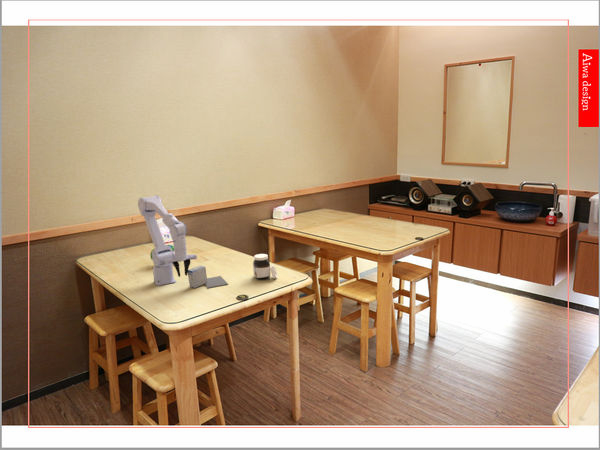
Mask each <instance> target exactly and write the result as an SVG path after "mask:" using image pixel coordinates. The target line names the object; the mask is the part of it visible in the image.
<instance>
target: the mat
mask: <svg viewBox="0 0 600 450" xmlns="http://www.w3.org/2000/svg"><path fill="white" fill-rule="evenodd" d="M204 285H205V286H206V288H207V289H212V288H217V287H222V286H227V285H229V283H228V282H227V281H226V279H224V278H223V277H222V275H218V276H213V277H207V283H205V284H204Z"/></svg>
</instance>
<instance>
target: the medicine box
mask: <svg viewBox="0 0 600 450" xmlns="http://www.w3.org/2000/svg"><path fill="white" fill-rule="evenodd" d="M187 277H188V278H187V279H188V283H189V287H191V288H193V289H197V288H198V287H200V286H203V285H205V283H207V278H208V276H207V269H206V266H204V265H200V264H199V265H197V266H194V267H191V268H190V269H189V268H188V272H187Z"/></svg>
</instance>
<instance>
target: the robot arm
mask: <svg viewBox="0 0 600 450" xmlns="http://www.w3.org/2000/svg"><path fill="white" fill-rule="evenodd" d="M137 207H138V210H139V212H140V215H141V216H143V219H144V221H145V224H146V227H147V229H148V232H149V235H150V238H151V241H152V243H153V246H154V248H153V249H154V250H153V249H152V250H153V251H152V258H153V260H152V262H153V265H155V266H152V272H153V282H154V283H155V285H156V286H163V285H164V286H165V285H169V284H173V283H176V282H177V281H176V279H175V278H174V270H173V266H174V268H175V270H176V273H177V276H178V278H180V277H181V271H180V262H183V265H184V267H183V268H184V275H185V276H186V277H188V270H189V267H190V266H191V260H197V259H198V257H197V254H188V251H187V242H186V241H187V240H186V234H187V233H188V227H187V225H186V223H185V222H182V221H179V220H178V219H177V217H176V216H175V215H174V214H173V213H169V212H168V211H167V210H166V208H165V206H164V205H163V204H162V198H161V197H160V196H159V195H157V194H155V195H152V196H145V197H140V198H138V201H137ZM156 214H158V215H159V216H160V217H161V218H162V219H161V220H162V222H163V224H164V225H165V226H166V227H167V228H168V230H169V234H170V236H171V240H172V245H173V246H174V252H173V251H172V249H171V247H169V246H167V245H168V244H166V243H165V240H164V238H163V235H162V232H161V229H160V227H159V224H158V220H157V218H156ZM161 252H162V253H161Z"/></svg>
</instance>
